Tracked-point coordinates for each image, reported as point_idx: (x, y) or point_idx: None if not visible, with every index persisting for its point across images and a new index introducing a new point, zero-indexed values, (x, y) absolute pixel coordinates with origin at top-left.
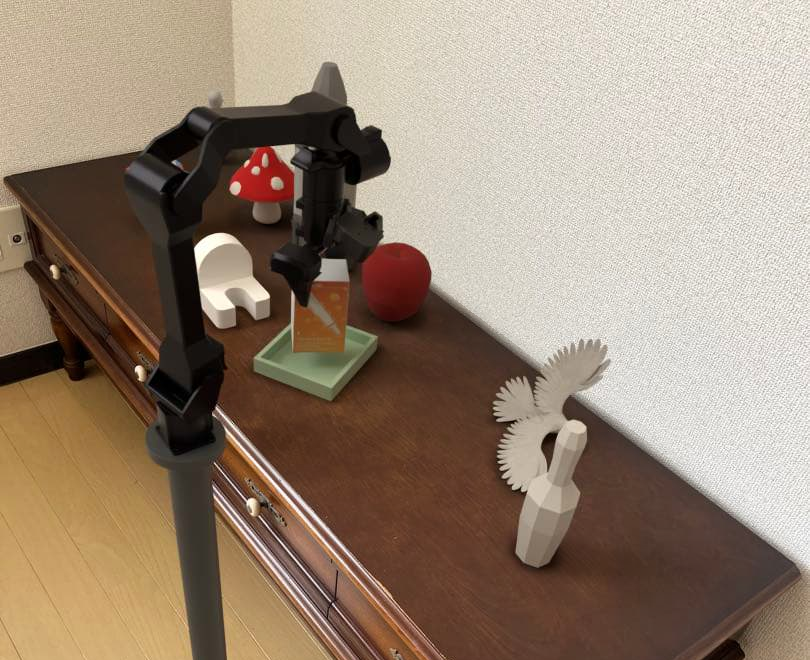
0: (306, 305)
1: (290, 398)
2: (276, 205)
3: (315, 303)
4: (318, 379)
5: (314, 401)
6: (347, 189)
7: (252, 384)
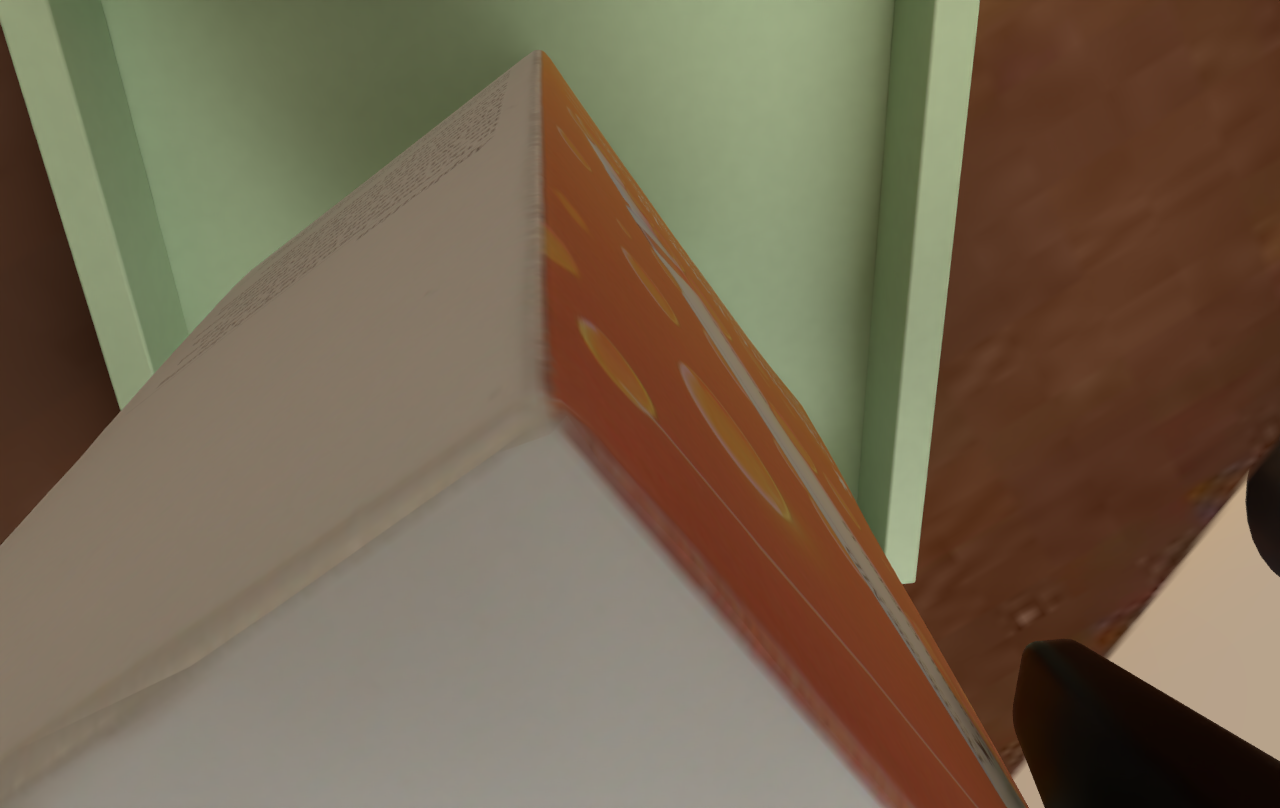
0: (1110, 662)
1: (1022, 187)
2: None
3: (887, 603)
4: (928, 69)
5: (982, 17)
6: None
7: (992, 456)
